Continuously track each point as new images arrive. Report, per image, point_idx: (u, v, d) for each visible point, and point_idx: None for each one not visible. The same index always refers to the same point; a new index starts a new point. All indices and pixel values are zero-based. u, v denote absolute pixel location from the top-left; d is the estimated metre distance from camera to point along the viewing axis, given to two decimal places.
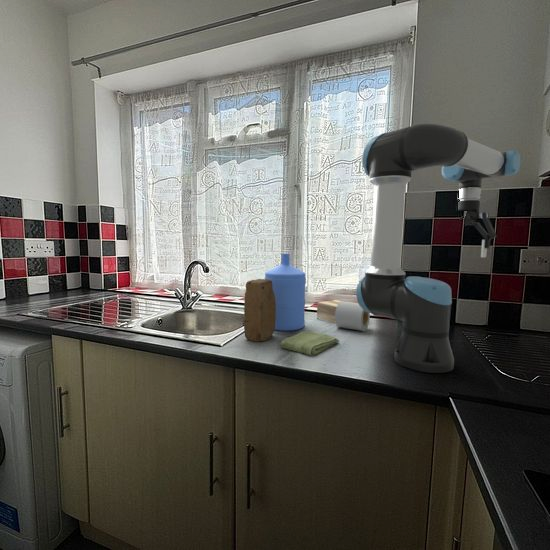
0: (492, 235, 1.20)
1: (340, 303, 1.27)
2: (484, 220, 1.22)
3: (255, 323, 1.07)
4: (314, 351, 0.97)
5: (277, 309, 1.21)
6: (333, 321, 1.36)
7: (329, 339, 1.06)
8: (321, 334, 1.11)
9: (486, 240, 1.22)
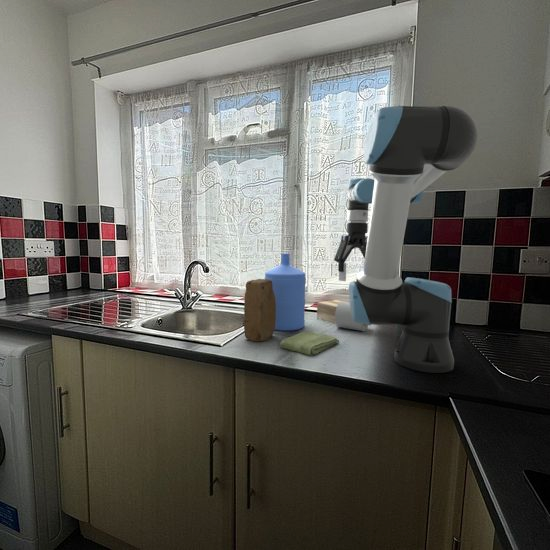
0: None
1: (340, 303, 1.27)
2: None
3: (255, 323, 1.07)
4: (313, 351, 0.97)
5: (277, 309, 1.21)
6: (333, 321, 1.36)
7: (329, 339, 1.05)
8: (321, 334, 1.11)
9: None
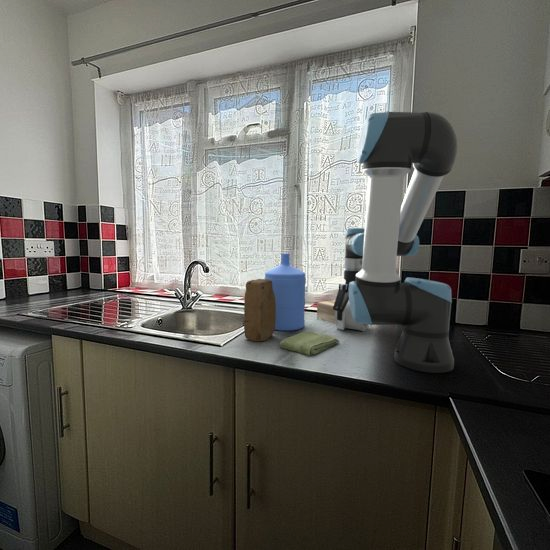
0: None
1: None
2: None
3: (255, 323, 1.07)
4: (313, 351, 0.97)
5: (277, 309, 1.21)
6: (333, 321, 1.36)
7: (329, 339, 1.05)
8: (321, 334, 1.11)
9: None
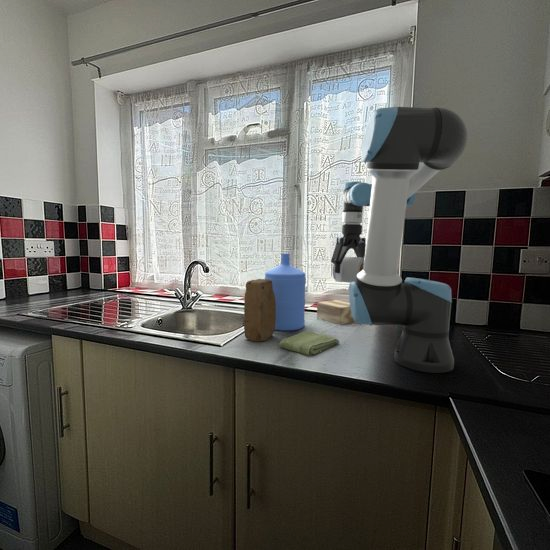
0: None
1: None
2: None
3: (255, 323, 1.07)
4: (312, 351, 0.97)
5: (277, 309, 1.21)
6: (333, 321, 1.36)
7: (329, 339, 1.05)
8: (321, 334, 1.11)
9: None
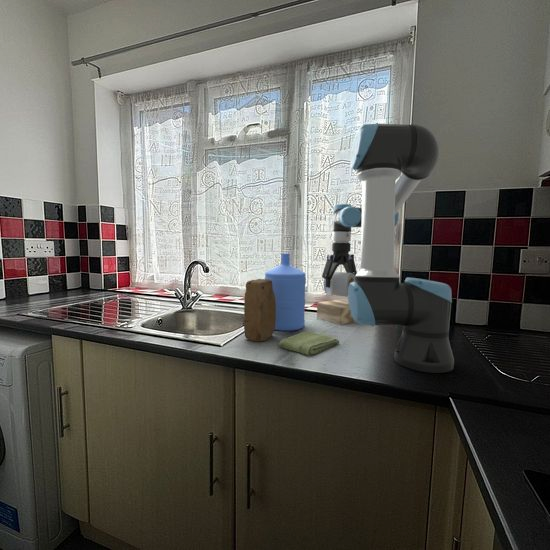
0: None
1: None
2: None
3: (255, 323, 1.07)
4: (312, 351, 0.97)
5: (277, 309, 1.21)
6: (333, 321, 1.36)
7: (328, 339, 1.05)
8: (321, 334, 1.11)
9: None
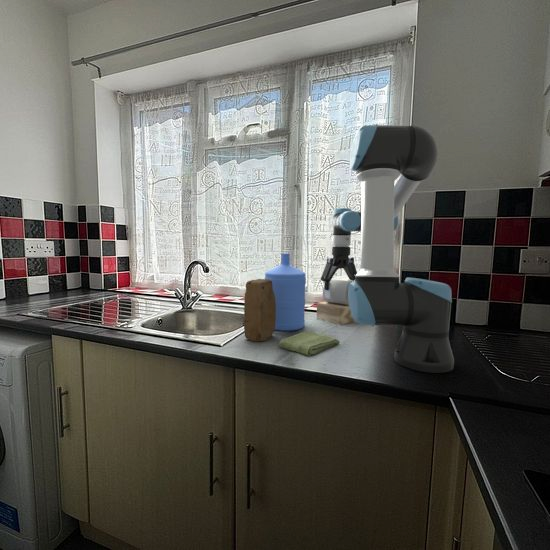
0: None
1: None
2: None
3: (255, 323, 1.07)
4: (311, 351, 0.97)
5: (277, 309, 1.21)
6: (333, 321, 1.36)
7: (328, 340, 1.05)
8: (321, 334, 1.11)
9: None
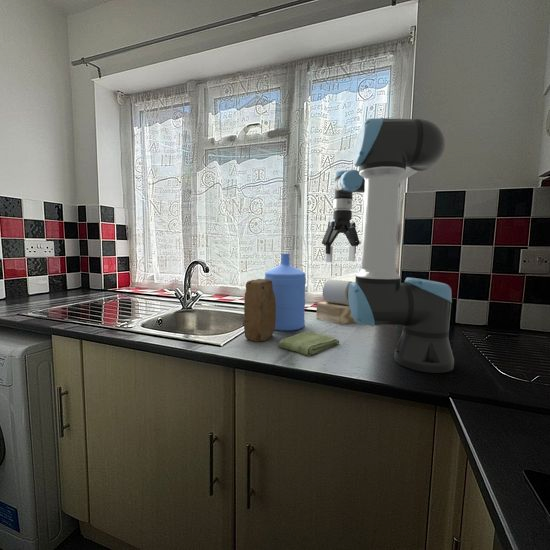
0: None
1: (328, 280, 1.41)
2: None
3: (255, 323, 1.07)
4: (311, 351, 0.97)
5: (277, 309, 1.21)
6: (333, 321, 1.36)
7: (328, 340, 1.05)
8: (321, 334, 1.11)
9: None
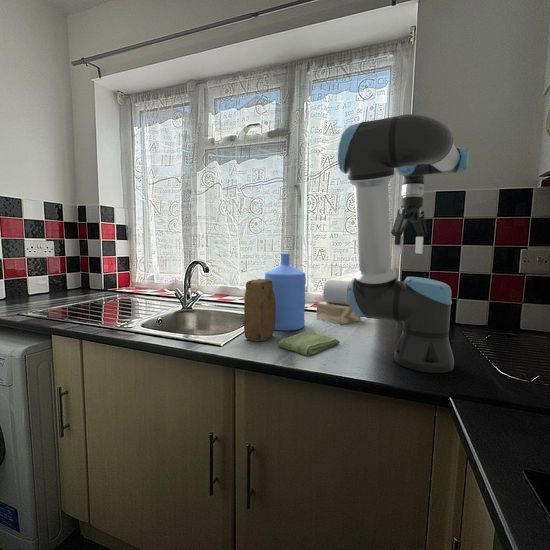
0: None
1: (328, 281, 1.41)
2: None
3: (255, 323, 1.07)
4: (310, 351, 0.97)
5: (277, 309, 1.21)
6: (333, 321, 1.36)
7: (328, 340, 1.05)
8: (322, 335, 1.11)
9: None
